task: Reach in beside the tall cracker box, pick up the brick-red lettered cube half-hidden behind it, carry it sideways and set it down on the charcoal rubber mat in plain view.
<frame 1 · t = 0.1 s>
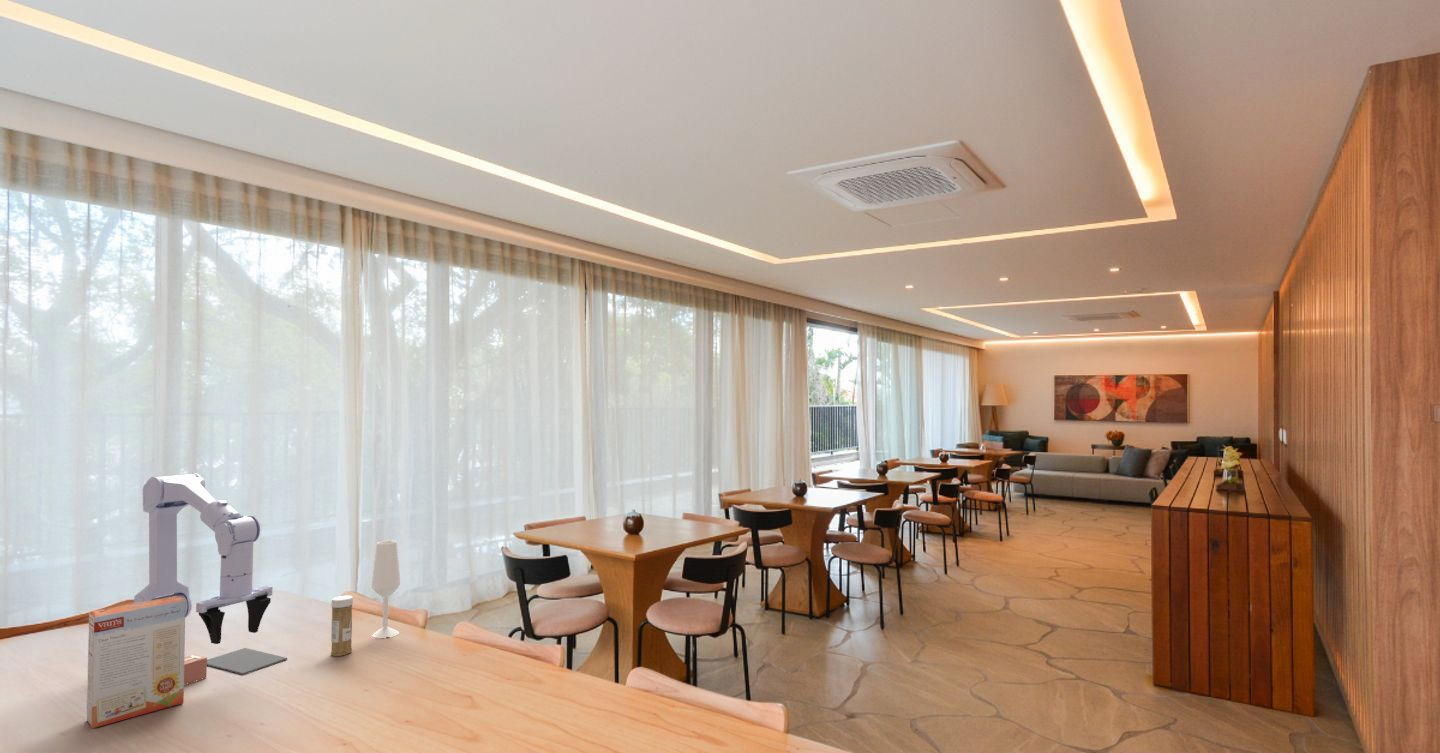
hand: (234, 637, 147), 10 cm above the table, tool pointing down, fingers open, 7 cm apart
charcoal mat: (243, 661, 160), on the table
champagne flute: (385, 635, 179), on the table
sprinkles bottle: (341, 654, 165), on the table
lettered cube: (188, 680, 149), on the table
cracker box: (135, 713, 134), on the table
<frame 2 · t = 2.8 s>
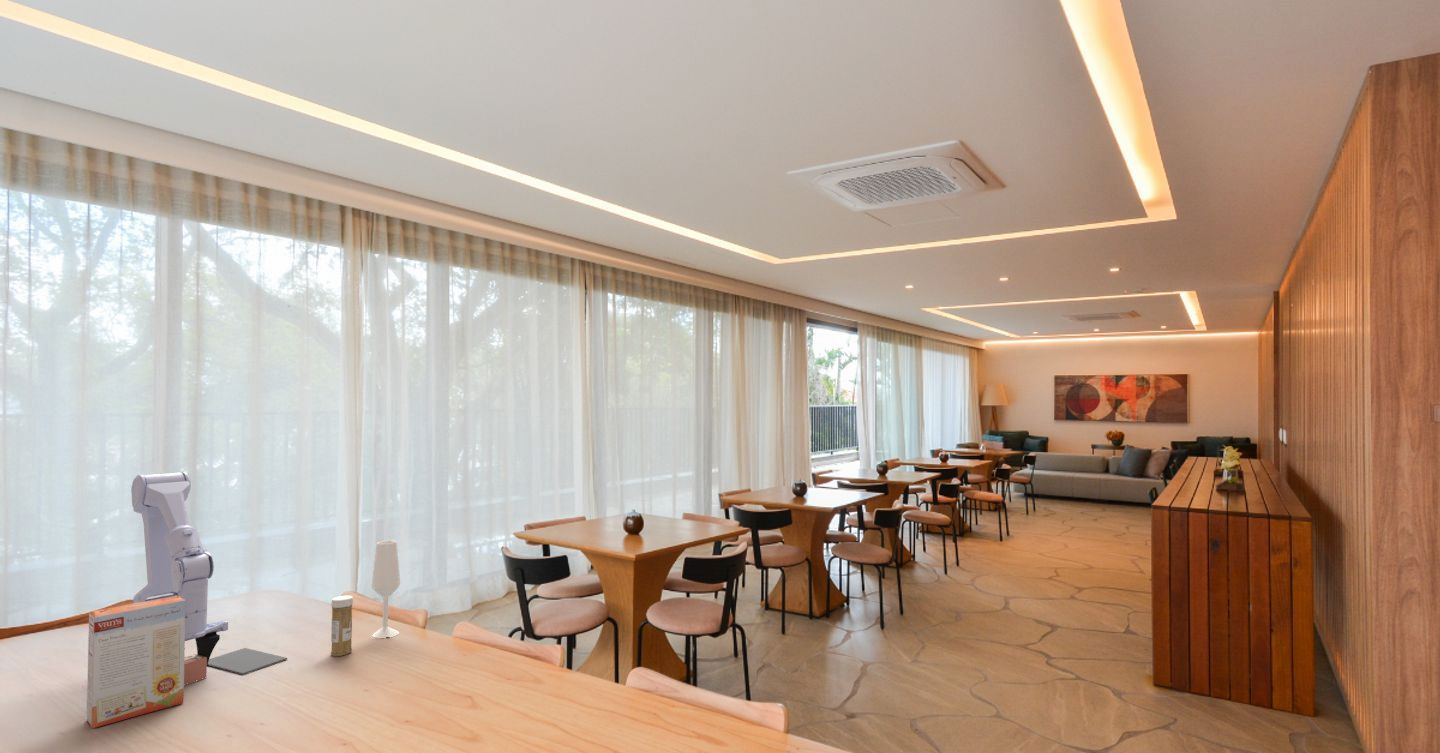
hand: (189, 673, 149), 1 cm above the table, tool pointing down, fingers closed on lettered cube, 4 cm apart
lettered cube: (188, 679, 149), on the table, touching gripper
everything else where it was.
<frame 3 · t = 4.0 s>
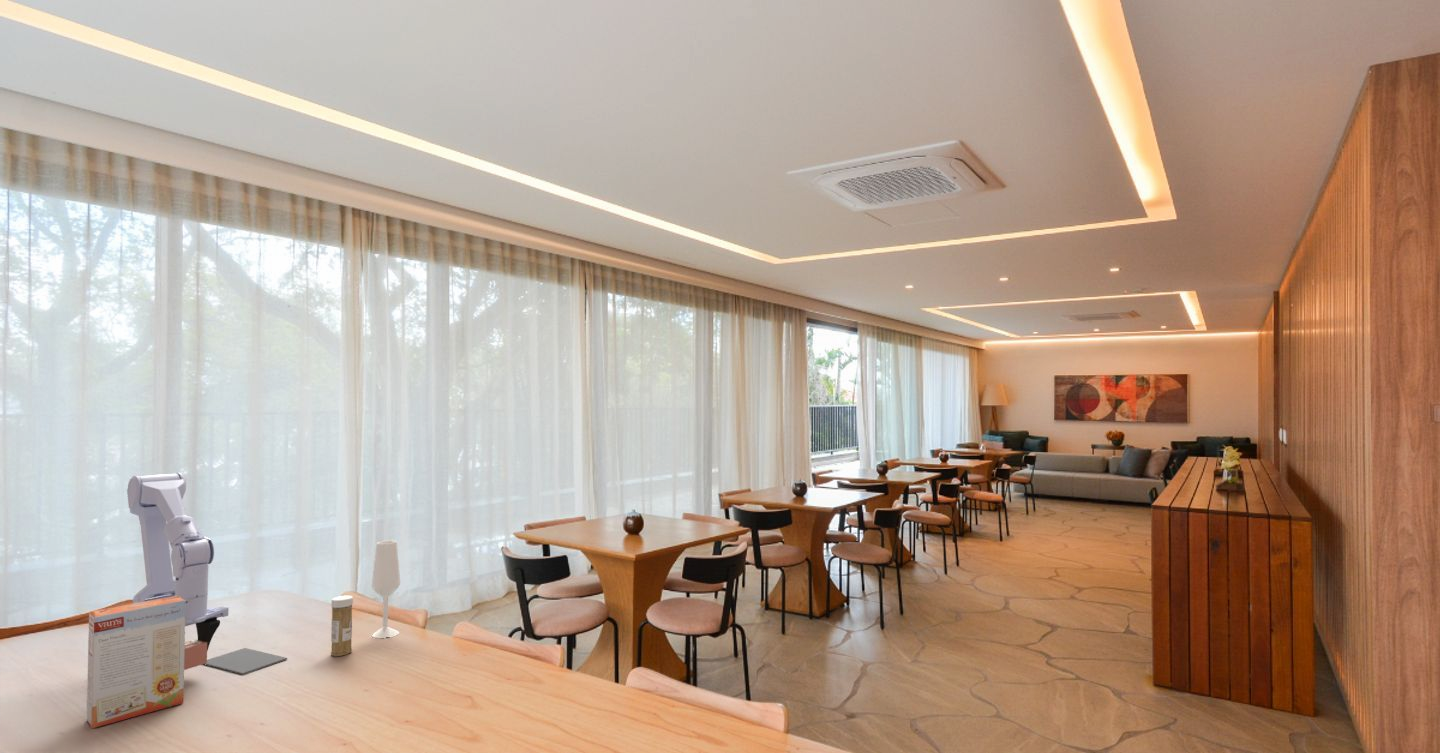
hand: (189, 658, 149), 5 cm above the table, tool pointing down, fingers closed on lettered cube, 4 cm apart
lettered cube: (189, 664, 149), point 3 cm above the table, touching gripper
everything else where it was.
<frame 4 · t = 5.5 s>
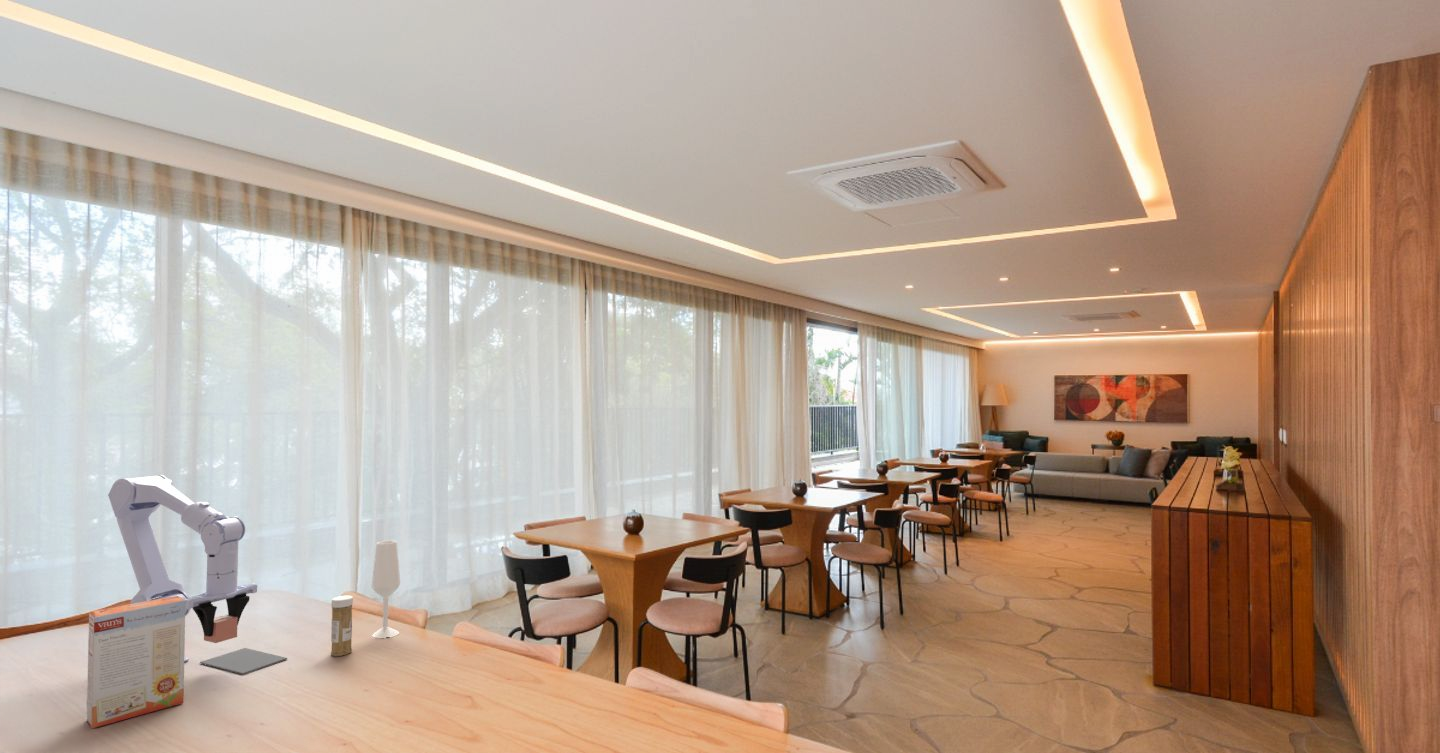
hand: (220, 632, 155), 8 cm above the table, tool pointing down, fingers closed on lettered cube, 4 cm apart
lettered cube: (220, 638, 155), point 7 cm above the table, touching gripper
everything else where it was.
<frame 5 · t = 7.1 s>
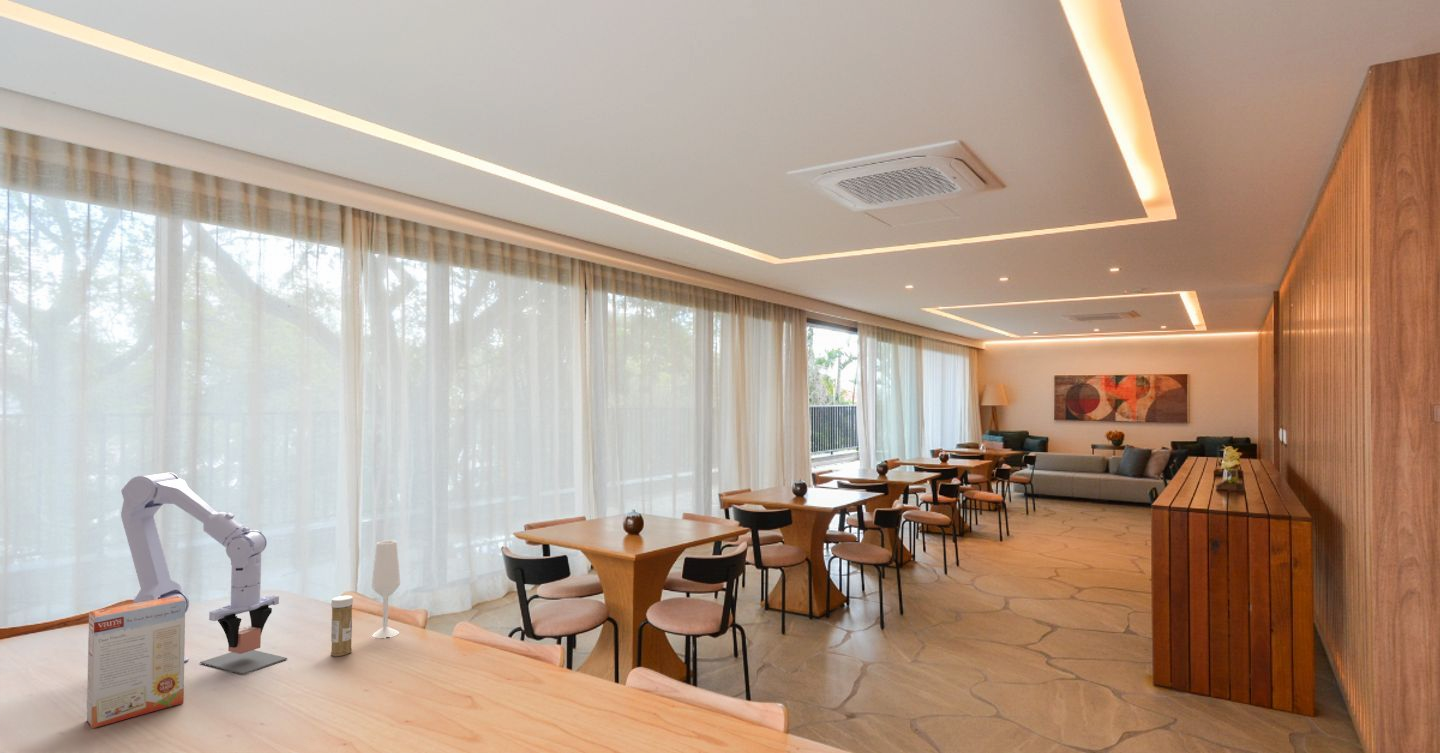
hand: (244, 643, 160), 4 cm above the table, tool pointing down, fingers closed on lettered cube, 4 cm apart
lettered cube: (244, 649, 160), point 3 cm above the table, touching gripper
everything else where it was.
when the fingers open (3 cm above the table, at t = 8.3 s): lettered cube drops 1 cm, resting on charcoal mat.
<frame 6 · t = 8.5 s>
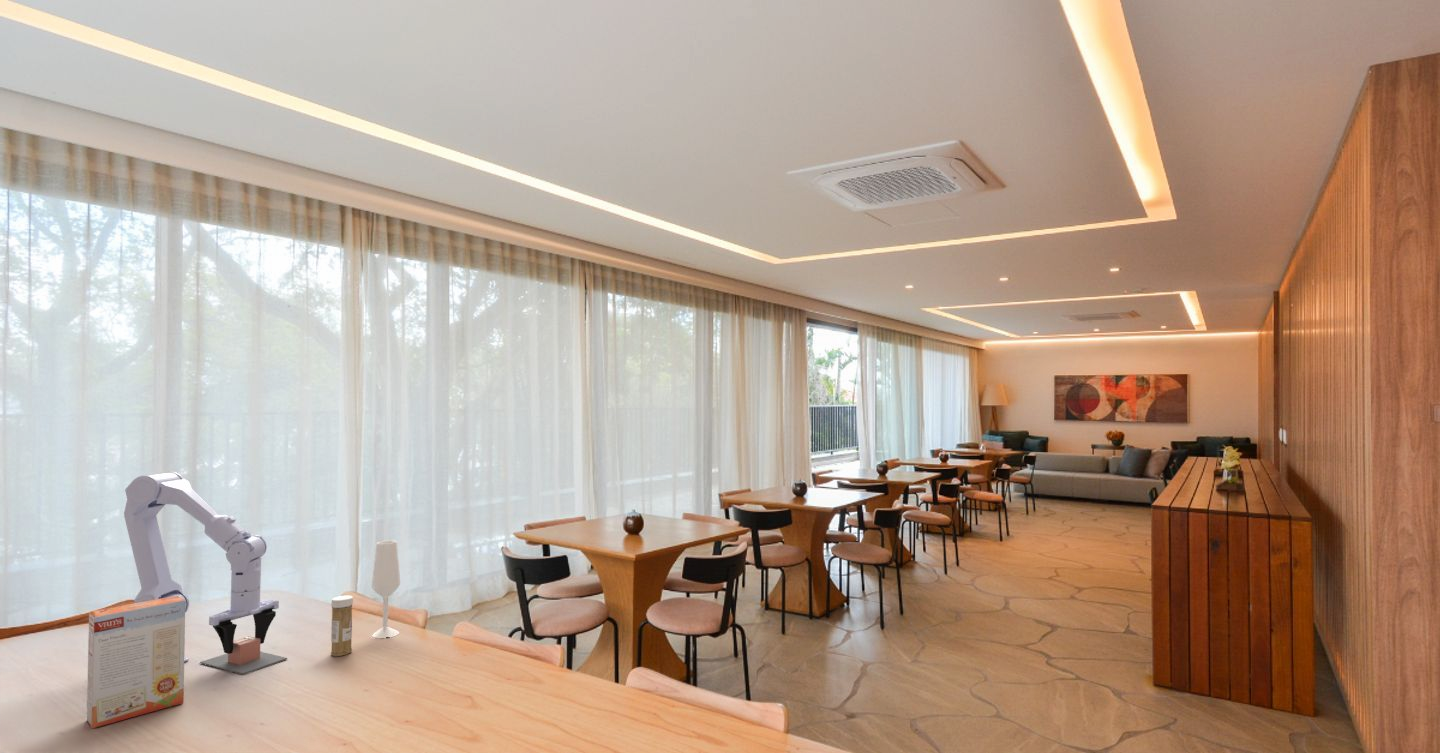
hand: (244, 647, 160), 3 cm above the table, tool pointing down, fingers open, 6 cm apart
lettered cube: (244, 659, 160), resting on charcoal mat
everything else where it was.
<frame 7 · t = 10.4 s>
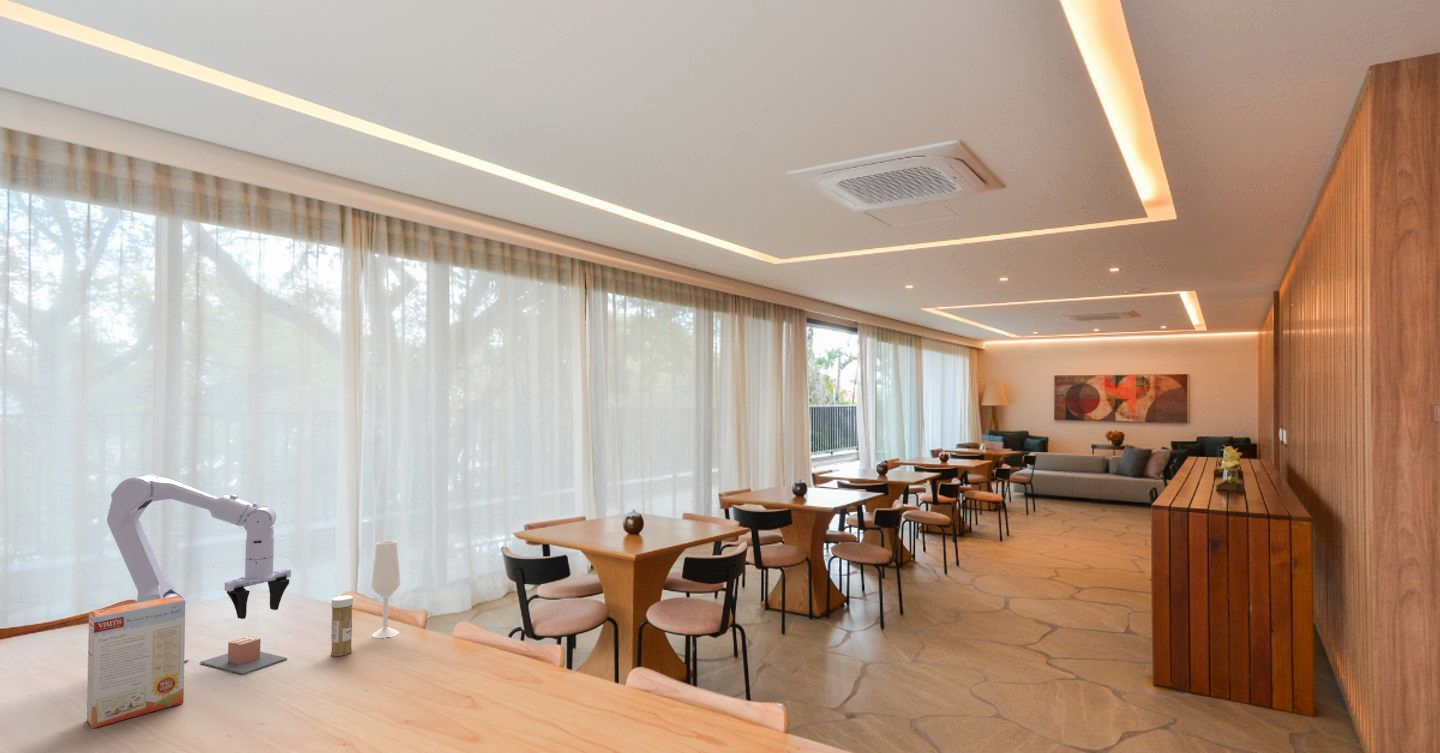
hand: (258, 613, 166), 9 cm above the table, tool pointing down, fingers open, 7 cm apart
nothing on the table moved.
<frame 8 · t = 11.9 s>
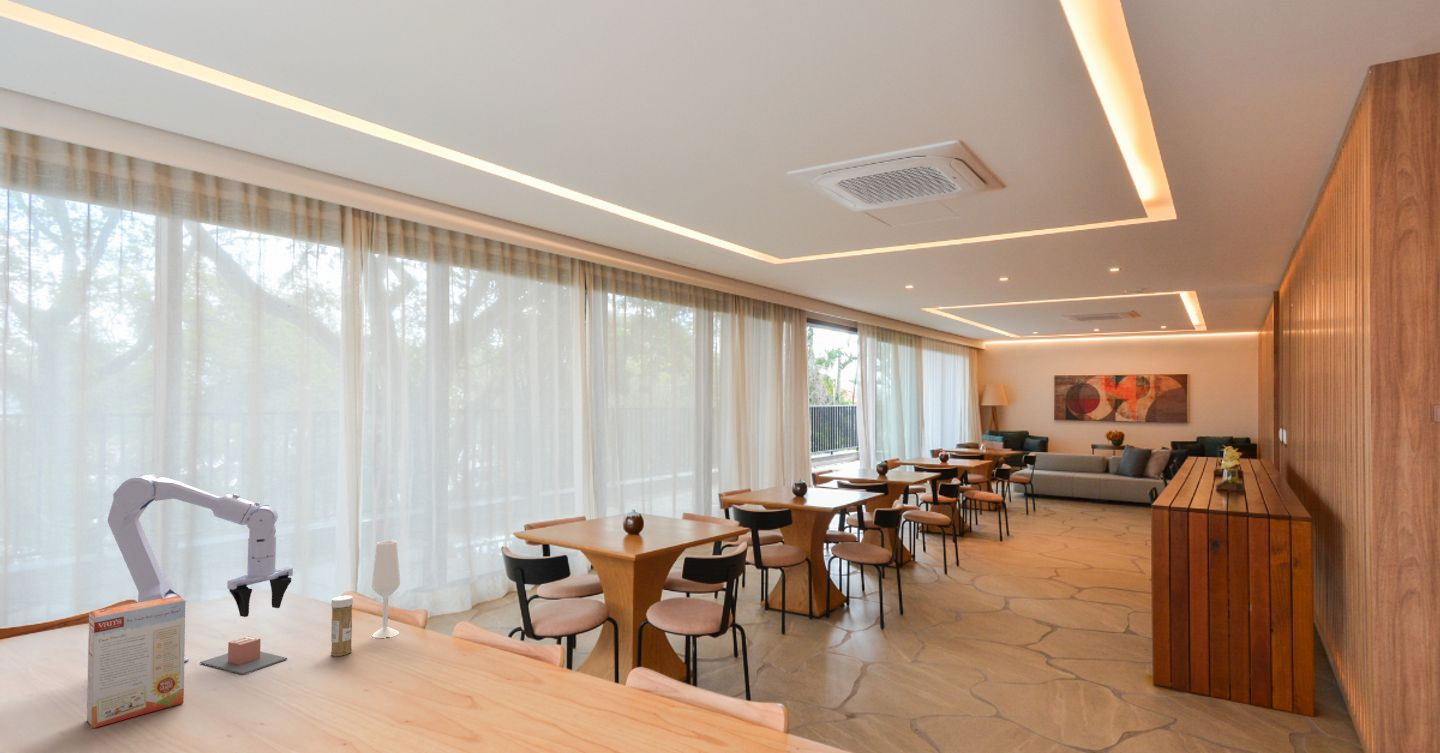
hand: (260, 611, 167), 9 cm above the table, tool pointing down, fingers open, 7 cm apart
nothing on the table moved.
at the end: lettered cube inside the target area on the charcoal mat (0.0 cm from its centre), point 0.4 cm above the charcoal mat's base; lettered cube tilted 0°; cracker box moved 0.2 cm from its start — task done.
